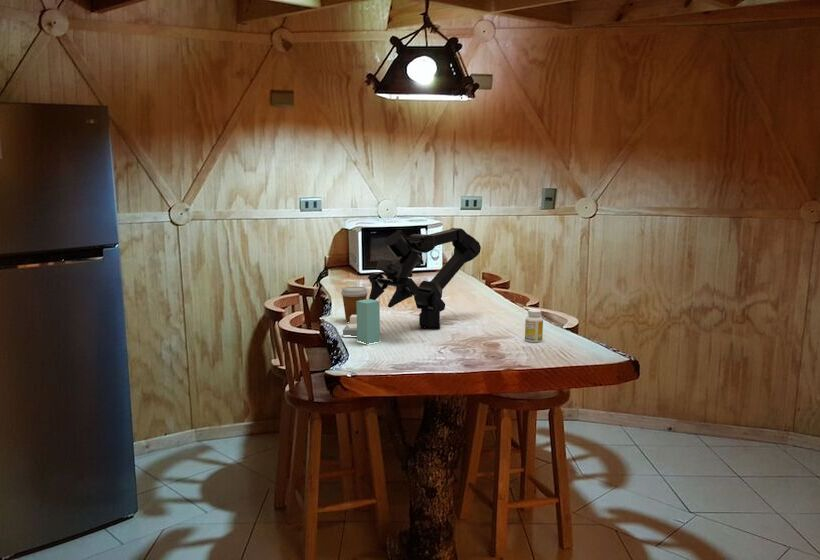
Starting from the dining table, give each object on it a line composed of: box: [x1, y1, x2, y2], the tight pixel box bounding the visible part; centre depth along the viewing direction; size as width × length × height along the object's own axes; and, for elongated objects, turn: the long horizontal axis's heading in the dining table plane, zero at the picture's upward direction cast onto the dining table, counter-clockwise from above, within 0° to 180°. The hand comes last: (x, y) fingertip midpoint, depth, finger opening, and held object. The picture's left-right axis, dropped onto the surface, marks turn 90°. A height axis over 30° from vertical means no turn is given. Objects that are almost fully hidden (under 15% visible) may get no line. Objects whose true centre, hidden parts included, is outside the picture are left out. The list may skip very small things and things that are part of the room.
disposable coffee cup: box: [340, 285, 369, 322], centre depth 219 cm, size 10×10×12 cm
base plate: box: [342, 315, 357, 336], centre depth 205 cm, size 8×14×4 cm, turn 175°
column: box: [356, 298, 381, 344], centre depth 192 cm, size 5×5×13 cm
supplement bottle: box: [524, 308, 544, 343], centre depth 193 cm, size 5×5×10 cm
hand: (378, 304), depth 194 cm, fingers open, 9 cm apart
